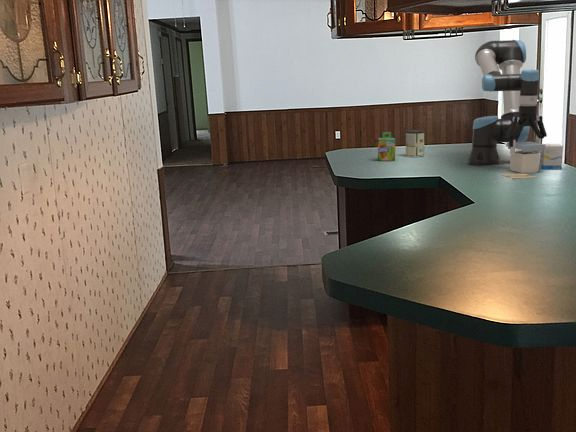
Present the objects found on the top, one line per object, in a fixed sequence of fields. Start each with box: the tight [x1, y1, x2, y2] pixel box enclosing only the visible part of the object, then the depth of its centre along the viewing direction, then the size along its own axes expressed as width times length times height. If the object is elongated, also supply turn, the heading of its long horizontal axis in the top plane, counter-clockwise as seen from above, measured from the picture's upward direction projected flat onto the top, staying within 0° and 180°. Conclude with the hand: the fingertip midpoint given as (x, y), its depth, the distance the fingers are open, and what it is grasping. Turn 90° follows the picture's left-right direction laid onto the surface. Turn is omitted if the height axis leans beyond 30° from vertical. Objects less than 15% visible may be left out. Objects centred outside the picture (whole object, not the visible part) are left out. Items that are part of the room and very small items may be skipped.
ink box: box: [539, 143, 564, 171], centre depth 291 cm, size 9×8×12 cm
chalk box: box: [377, 131, 396, 162], centre depth 333 cm, size 9×9×15 cm
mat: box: [501, 173, 538, 180], centre depth 273 cm, size 10×11×1 cm
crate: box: [509, 150, 540, 174], centre depth 285 cm, size 10×8×9 cm
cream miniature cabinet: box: [405, 129, 426, 158], centre depth 346 cm, size 10×10×14 cm
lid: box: [505, 141, 546, 152], centre depth 284 cm, size 12×12×3 cm
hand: (524, 153), depth 285 cm, fingers closed on lid, 12 cm apart
